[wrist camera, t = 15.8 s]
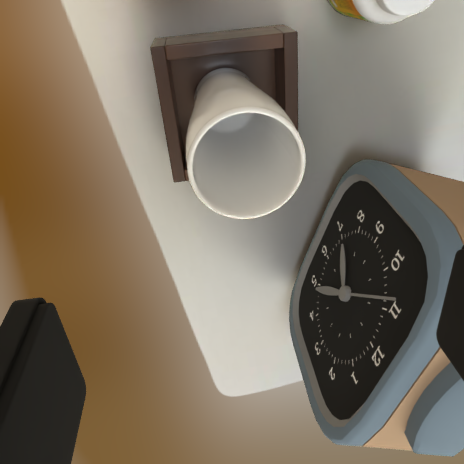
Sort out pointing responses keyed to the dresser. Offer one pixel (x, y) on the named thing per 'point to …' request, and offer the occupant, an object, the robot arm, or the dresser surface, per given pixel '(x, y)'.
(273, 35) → the cup holder
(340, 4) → the supplement bottle
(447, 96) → the dresser surface
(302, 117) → the dresser surface
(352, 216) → the alarm clock
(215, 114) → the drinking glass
